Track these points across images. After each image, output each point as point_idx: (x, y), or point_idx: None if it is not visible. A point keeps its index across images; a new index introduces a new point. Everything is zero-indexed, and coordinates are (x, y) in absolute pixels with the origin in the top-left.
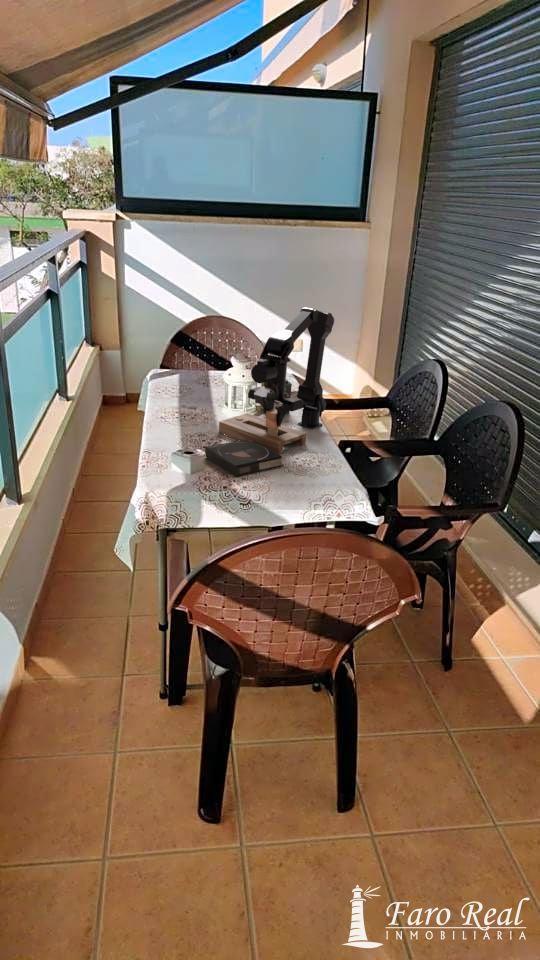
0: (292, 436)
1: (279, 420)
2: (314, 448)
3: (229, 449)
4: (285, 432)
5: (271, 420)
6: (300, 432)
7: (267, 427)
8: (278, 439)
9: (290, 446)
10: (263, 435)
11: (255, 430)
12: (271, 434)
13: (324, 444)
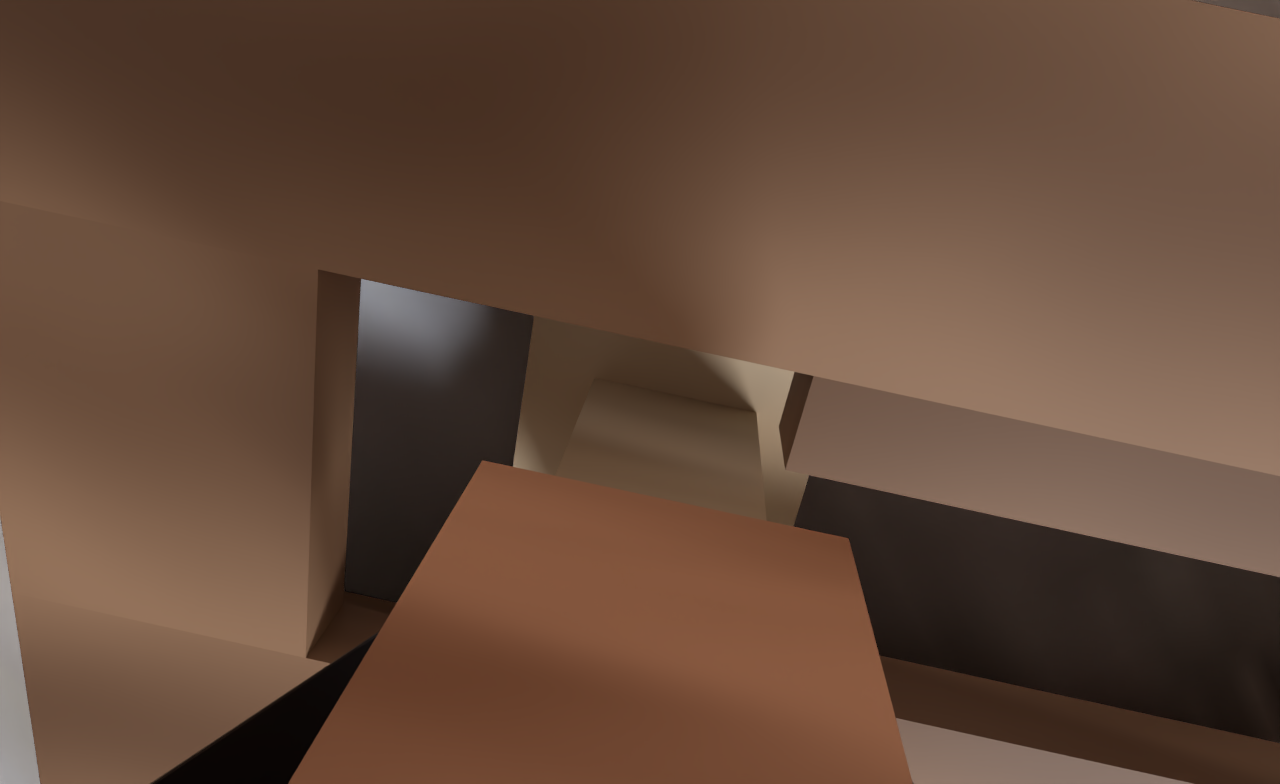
0: (66, 487)
1: (216, 768)
2: (6, 576)
3: None
4: None
5: (560, 666)
6: (140, 776)
7: (893, 705)
8: (123, 34)
9: None
10: (670, 51)
11: (1093, 305)
12: (524, 293)
13: (37, 771)
